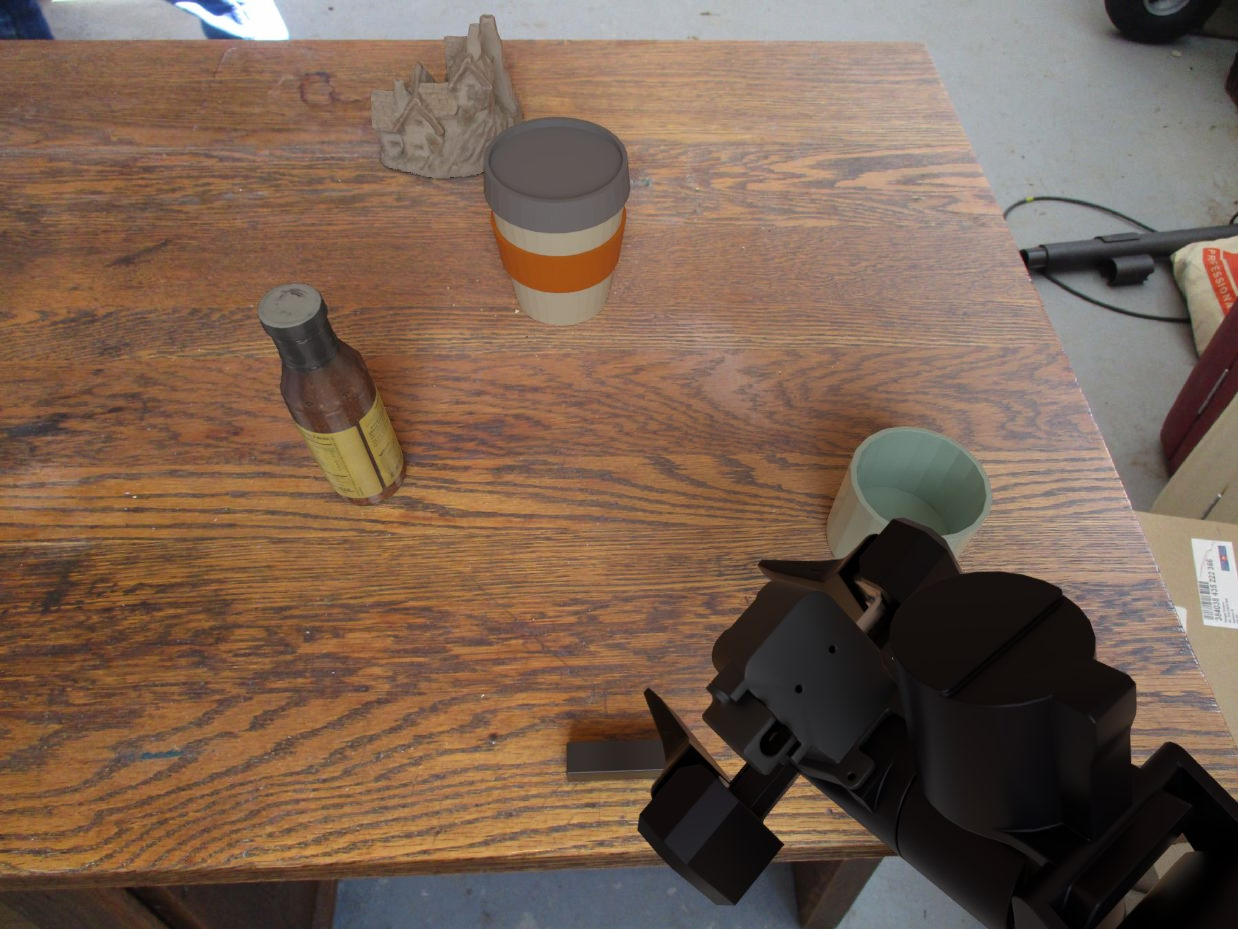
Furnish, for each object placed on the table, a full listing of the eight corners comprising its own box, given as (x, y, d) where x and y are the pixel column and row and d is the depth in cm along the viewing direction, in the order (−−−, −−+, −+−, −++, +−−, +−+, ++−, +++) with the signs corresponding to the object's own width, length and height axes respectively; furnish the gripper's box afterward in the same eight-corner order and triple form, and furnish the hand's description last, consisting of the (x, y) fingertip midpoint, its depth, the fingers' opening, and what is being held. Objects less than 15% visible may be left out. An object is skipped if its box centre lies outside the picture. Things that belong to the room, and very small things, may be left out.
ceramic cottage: (536, 102, 100) (517, -29, 87) (506, 190, 91) (480, 58, 78) (412, 97, 102) (376, -32, 89) (371, 183, 93) (324, 53, 80)
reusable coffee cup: (473, 314, 79) (450, 178, 67) (536, 236, 86) (525, 100, 74) (592, 356, 76) (590, 222, 64) (647, 273, 83) (655, 137, 71)
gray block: (677, 747, 56) (679, 738, 54) (680, 778, 55) (682, 769, 53) (567, 751, 56) (566, 742, 54) (567, 782, 54) (566, 773, 53)
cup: (979, 559, 65) (1022, 504, 58) (880, 616, 62) (914, 564, 55) (896, 468, 70) (926, 408, 63) (801, 516, 67) (822, 458, 60)
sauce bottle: (383, 435, 71) (319, 250, 54) (422, 482, 68) (367, 303, 52) (313, 475, 68) (224, 294, 52) (351, 526, 65) (269, 351, 49)
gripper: (1032, 491, 30) (752, 405, 42) (684, 918, 26) (492, 681, 39) (1102, 659, 35) (837, 539, 48) (826, 1026, 32) (619, 790, 45)
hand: (707, 629), depth 45 cm, fingers open, 9 cm apart
